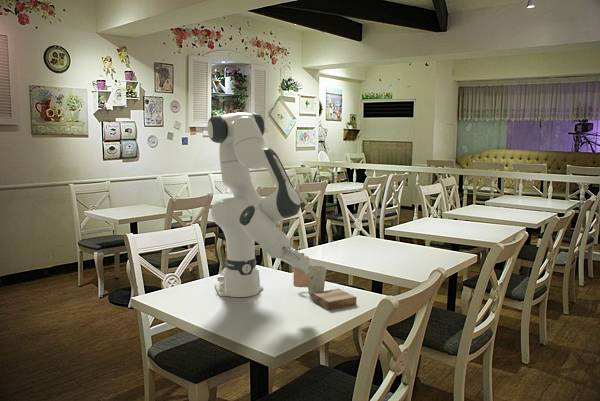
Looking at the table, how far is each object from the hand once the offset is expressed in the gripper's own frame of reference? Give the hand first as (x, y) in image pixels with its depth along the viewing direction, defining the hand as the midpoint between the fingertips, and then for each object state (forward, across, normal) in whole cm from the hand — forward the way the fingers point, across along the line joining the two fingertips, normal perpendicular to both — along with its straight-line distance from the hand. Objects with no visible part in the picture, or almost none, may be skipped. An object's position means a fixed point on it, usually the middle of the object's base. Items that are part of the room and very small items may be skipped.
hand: (302, 269), depth 174 cm
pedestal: (+24, +7, -1) cm, 25 cm away
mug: (+24, +23, 0) cm, 33 cm away
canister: (+3, 0, +4) cm, 5 cm away
